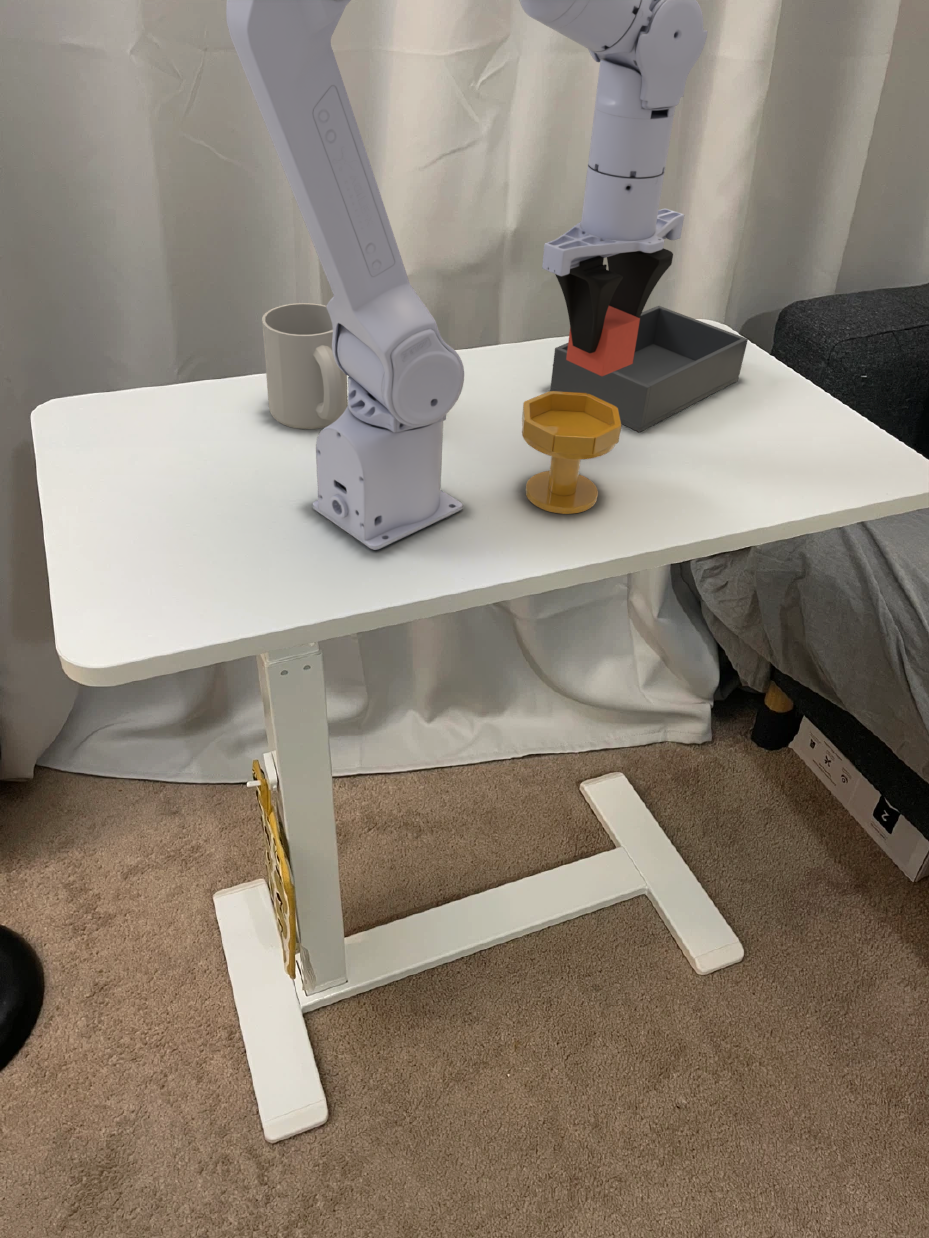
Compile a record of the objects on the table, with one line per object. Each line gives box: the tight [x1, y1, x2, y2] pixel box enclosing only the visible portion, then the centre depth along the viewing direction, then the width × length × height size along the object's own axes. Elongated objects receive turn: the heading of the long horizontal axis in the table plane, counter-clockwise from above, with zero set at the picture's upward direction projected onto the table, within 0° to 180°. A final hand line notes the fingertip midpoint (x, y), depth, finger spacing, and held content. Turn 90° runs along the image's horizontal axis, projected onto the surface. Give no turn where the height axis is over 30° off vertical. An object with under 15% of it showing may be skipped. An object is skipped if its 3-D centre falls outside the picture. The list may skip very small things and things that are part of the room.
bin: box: [549, 305, 749, 433], centre depth 99 cm, size 17×11×4 cm, turn 136°
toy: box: [566, 306, 640, 376], centre depth 83 cm, size 4×4×4 cm
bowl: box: [521, 390, 622, 515], centre depth 81 cm, size 8×8×8 cm
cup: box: [261, 302, 348, 430], centre depth 89 cm, size 7×10×9 cm
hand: (601, 341), depth 83 cm, fingers closed on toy, 4 cm apart
